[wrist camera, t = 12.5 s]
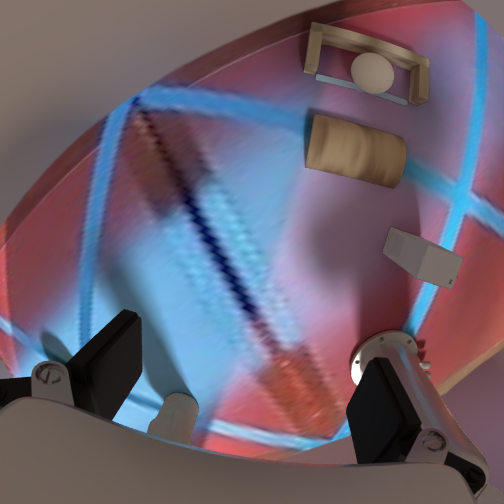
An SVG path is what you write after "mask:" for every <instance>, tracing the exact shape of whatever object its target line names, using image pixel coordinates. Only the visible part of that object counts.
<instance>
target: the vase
mask: <svg viewBox="0 0 504 504" xmlns="http://www.w3.org/2000/svg"><path fill="white" fill-rule="evenodd" d="M198 413H199V407H198V404H197V402H196V401H195V400H194V399H193V398H192V397H190V396H189V395H186V394H183V393H172V394H170V395H168V396H167V397H166V398H165V401H164V403H163V405H162V407H161V409H160V411H159V413H158V415H157V417H156V418H155V419H153V420H152V421H151V422H150V424H149V427H148V431H147V433H148V434H151V435H154V436H157V437H161V438H164V439H167V440H171V441H174V442H178V443H182V444H186V445H190V446H193V445H192V441H191V440H190V439H191V435H192V431H193V428H194V425H195V422H196V419H197V416H198Z"/></svg>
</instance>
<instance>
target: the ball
mask: <svg viewBox="0 0 504 504" xmlns="http://www.w3.org/2000/svg"><path fill="white" fill-rule="evenodd" d="M351 75H352V78H353V80H354V82H355V83H356V85H357V86H358V87H359V88H361V89H362V90H364V91H365V92H368V93H372V94H379V93H383V92H385V91H387V90H388V89H389V88H390V87H391V86H392V84H393V81H394V70H393V68H392V66H391V64H390V63H389V61H388V60H387V59H386V58H384V57H383V56H381V55H379V54H376V53H364V54H361V55H359V56H358V57H357V58H356V59H355V60H354V61H353V63H352V66H351Z"/></svg>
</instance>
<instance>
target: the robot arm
mask: <svg viewBox="0 0 504 504" xmlns="http://www.w3.org/2000/svg"><path fill="white" fill-rule="evenodd" d="M417 355H418V348H417V345H416V342H415V341H414V339H413V338H412V337H411V336H410V335H409V334H407V333H406V332H403V331H400V330H388V331H384V332H381V333H378V334H376V335H374V336H372V337H371V338H369V339H368V340H366V341H365V342H364V343H363V344H362V345H361V346H360V347H359V348H358V349H357V351H356V352H355V354H354V356H353V358H352V360H351V364H350V373H351V377H352V379H353V381H354V383H355V384H356V385H357V387H356V389H355V392H354V394H353V396H352V398H351V400H350V402H349V403H348V406H347V409H346V415H347V419H348V423H349V427H350V431H351V436H352V440H353V444H354V449H355V453H356V458H357V463H358V464H309V463H294V462H283V461H273V460H265V459H257V458H250V457H243V456H237V455H232V454H226V453H221V452H216V451H211V450H207V449H202V448H198V447H194V446H190V445H186V444H182V443H178V442H174V441H171V440H167V439H164V438H161V437H157V436H154V435H151V434H148V433H145V432H142V431H139V430H136V429H133V428H130V427H127V426H124V425H122V424H119V423H116V422H114V421H112V420H113V418H114V417H115V415H116V413H117V412H118V410H119V409H120V407H121V406H122V404H123V402H124V401H125V399H126V398H127V396H128V395H129V393H130V391H131V390H132V388H133V387H134V385H135V384H136V382H137V381H138V379H139V377H140V376H141V373H142V333H141V318H140V317H138V314H137V313H136V312H133V311H129V310H126V309H124V310H122V311H121V312H120V313H119V314H118V315H117V316H116V317H115V318H113V319H112V320H111V321H110V322H109V323H108V324H107V325H106V326H105V327H104V328H103V329H102V330H101V331H100V332H99V333H98V334H96V335H95V336H94V337H93V338H92V339H91V340H90V341H89V342H88V343H87V344H86V345H85V346H84V347H83V348H81V349H80V350H79V351H78V352H77V353H76V354H75V355H74V356H73V357H72V358H71V359H70V360H69V361H68V362H67V363H66V364H65V365H63V364H62V363H60V362H57V361H43V362H41V363H39V364H37V365H36V366H35V367H34V368H33V370H32V374H31V377H21V378H9V379H0V504H504V494H503V493H501V492H500V491H499V490H498V489H497V488H496V487H494V486H493V485H492V484H491V483H488V484H487V485H486V483H487V481H488V477H489V466H488V463H487V461H486V459H485V457H484V456H483V454H482V453H481V451H480V450H479V449H478V448H477V447H476V446H475V444H474V443H473V442H472V441H471V440H470V439H469V438H468V436H467V435H466V434H465V433H464V431H463V430H462V429H461V428H460V426H459V425H458V424H457V423H456V420H455V419H454V417H453V416H452V415H451V413H450V411H449V410H448V408H447V407H446V405H445V403H444V402H443V400H442V398H441V397H440V395H439V394H438V392H437V390H436V389H435V387H434V386H433V384H432V383H431V381H430V377H431V374H430V372H429V371H424V370H423V369H429V368H430V366H431V363H430V362H429V361H423V362H421V361H420V359H419V358H418V356H417Z"/></svg>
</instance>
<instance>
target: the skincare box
mask: <svg viewBox="0 0 504 504" xmlns="http://www.w3.org/2000/svg"><path fill="white" fill-rule="evenodd" d="M382 253H383V254H384V255H386V256H387V257H388V258H390V259H391V260H392V261H394V262H395V263H396V264H398V265H399V266H400V267H402V268H403V269H404V270H405V271H407V272H408V273H409V274H411V275H412V276H413V277H415V278H416V279H418V280H422V281H425V282H428V283H431V284H433V285H436V286H440V287H444V288H447V289H451V290H452V288H453V286H454V283H455V280H456V278H457V275H458V272H459V270H460V267H461V264H462V261H463V257H461V256H459V255H457V254H455V253H453V252H451V251H449V250H447V249H445V248H443V247H441V246H439V245H437V244H435V243H432V242H430V241H428V240H426V239H424V238H421V237H418V236H416V235H413V234H410V233H407V232H404V231H402V230H399V229H396V228H393V227H390V229H389V233H388V236H387V239H386V242H385V245H384V248H383V251H382Z"/></svg>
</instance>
